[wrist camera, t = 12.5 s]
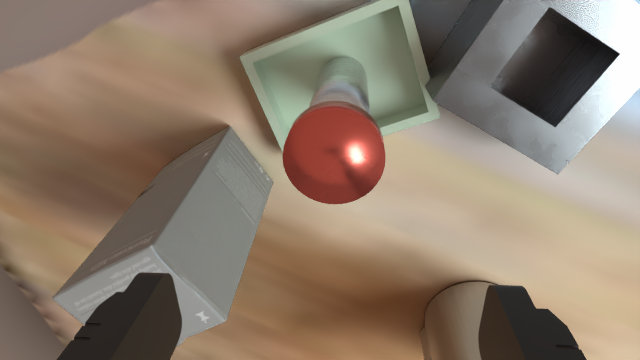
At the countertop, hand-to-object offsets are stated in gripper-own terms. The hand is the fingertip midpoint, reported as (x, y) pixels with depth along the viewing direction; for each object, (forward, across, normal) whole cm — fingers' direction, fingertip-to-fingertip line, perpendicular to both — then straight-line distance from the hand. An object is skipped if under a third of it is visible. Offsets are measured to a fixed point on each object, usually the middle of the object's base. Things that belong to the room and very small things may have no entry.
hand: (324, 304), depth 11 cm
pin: (+23, 0, 0) cm, 23 cm away
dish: (+24, 0, 0) cm, 24 cm away
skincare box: (+24, +11, +9) cm, 28 cm away
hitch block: (+24, -12, -2) cm, 27 cm away
